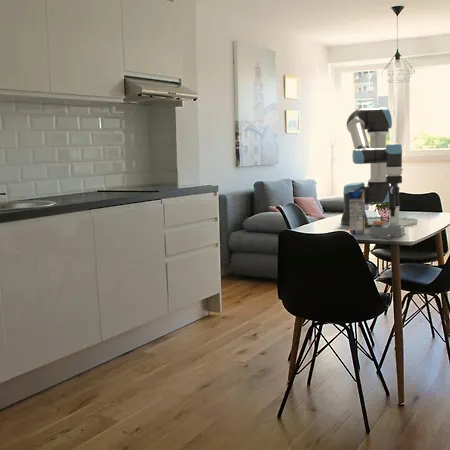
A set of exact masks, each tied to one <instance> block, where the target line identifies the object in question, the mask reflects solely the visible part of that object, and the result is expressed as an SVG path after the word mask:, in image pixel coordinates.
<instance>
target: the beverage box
mask: <svg viewBox="0 0 450 450" xmlns="http://www.w3.org/2000/svg"><path fill="white" fill-rule="evenodd" d="M365 206H366V205H365V196H364V190H350V191H349V225H348V226H349V234H350V233H351V234H352V235H351V236H355V235H356V236H357V235H358V236H362V235H363V234H364V235H365V233H366V224H365V212H366V207H365ZM364 235H363V236H364Z"/></svg>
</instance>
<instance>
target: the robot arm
mask: <svg viewBox="0 0 450 450" xmlns="http://www.w3.org/2000/svg"><path fill="white" fill-rule="evenodd" d="M392 121H393V120H392V115H391V111H390V109H389V108H388V107H370V108H369V107H367V108H358V109H356V110H355V111H353V112H351V114H350V115H349V116H348V118H347V120H346V129H347V131H348V132H349V133H350V137H351V140H352V143H353V147H354V149H353V150H352V156H351V157H352V162H353V164H355V165H358V164H359V165H364V164H366V165H367V164H370V178H369V180H367V184H365V182H364V181H359V182H358V181H357V182H352V183H348V184H345V185H344V187H343V193H342V194H343V212H342V215H341V216H342V217H341V219H340V224H341V225H345V226H350V225H349V191H350V190H364V196H365V206H370V205H371V206H372V205H373V203H372V202H374V201H376V202H377V203H376V205H380V204H382V203H385V202H389V203H388V211H389V224H390V223H396V210H395V209H396V206H399V209H401V206H400V187H399V184H402V183H403V175H402V174H403V171H404V168H403V167H402V166H403V146H402V145H403V144H401V143H388V144H387V134H388V133H389V130H390V129H391V128H392V126H393V125H392V124H393V122H392ZM365 130H367V134H368V135H369V139H370V140H369V141H370V143H369V141H368V136H367V135H366V131H365ZM382 205H383V204H382ZM373 206H374V205H373ZM365 223H369V219H368V216H367V213H366V211H365Z"/></svg>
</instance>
